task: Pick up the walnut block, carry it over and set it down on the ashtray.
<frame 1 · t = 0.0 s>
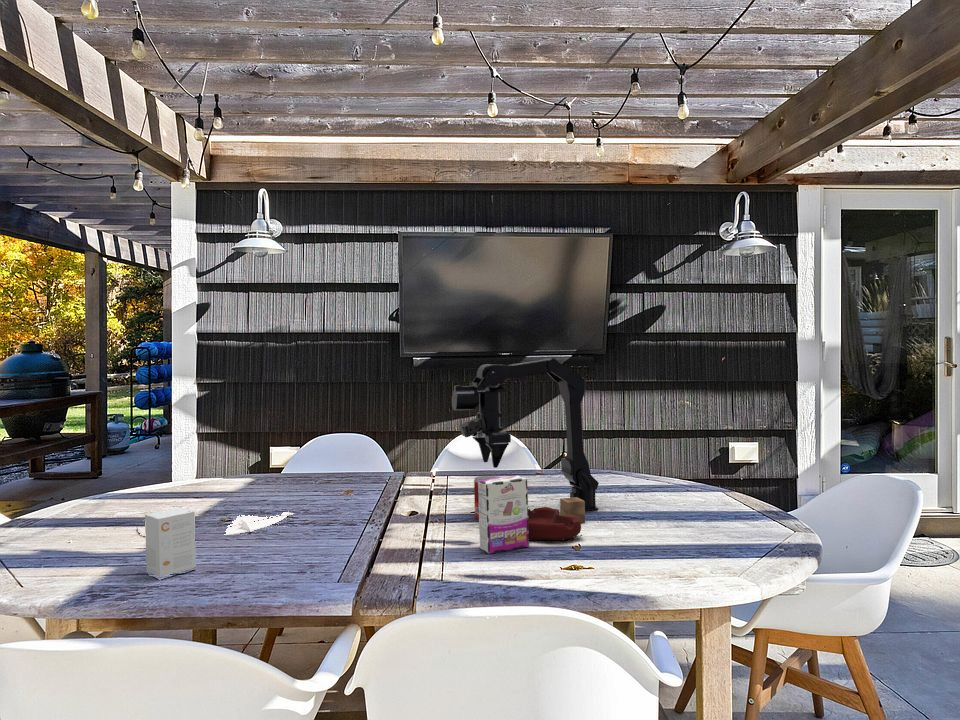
hand: (490, 464, 183), 15 cm above the table, fingers open, 9 cm apart
walnut block: (572, 521, 177), on the table
candy bar box: (504, 548, 154), on the table
small box: (171, 573, 140), on the table
canned food: (488, 518, 183), on the table
white flat piece: (216, 523, 183), on the table
ashtray: (540, 536, 165), on the table
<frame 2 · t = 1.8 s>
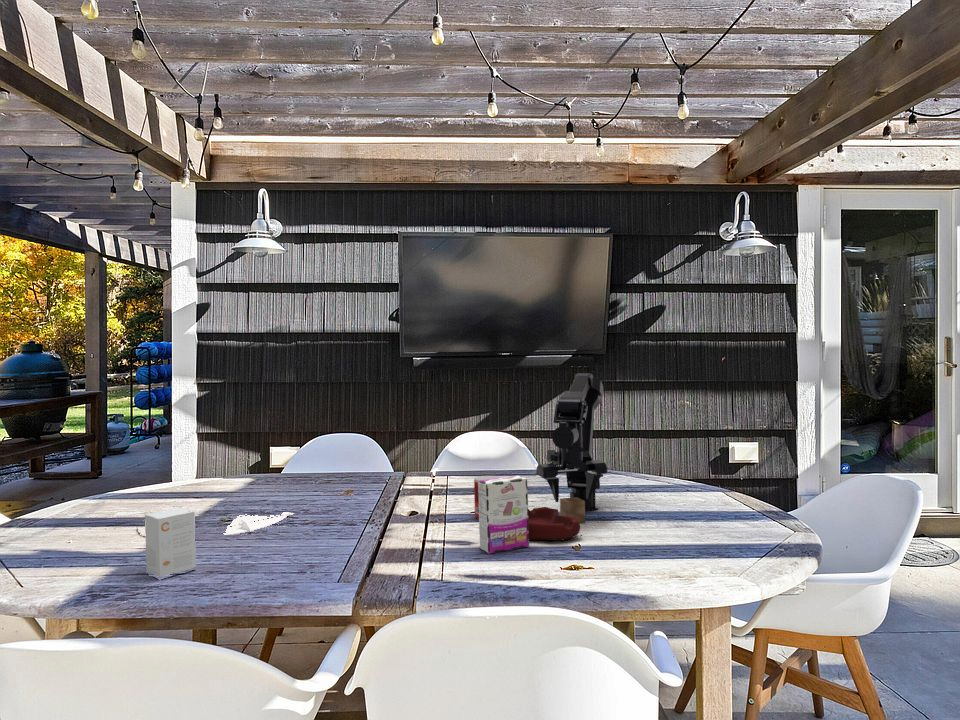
hand: (572, 500, 177), 6 cm above the table, fingers open, 9 cm apart
nothing on the table moved.
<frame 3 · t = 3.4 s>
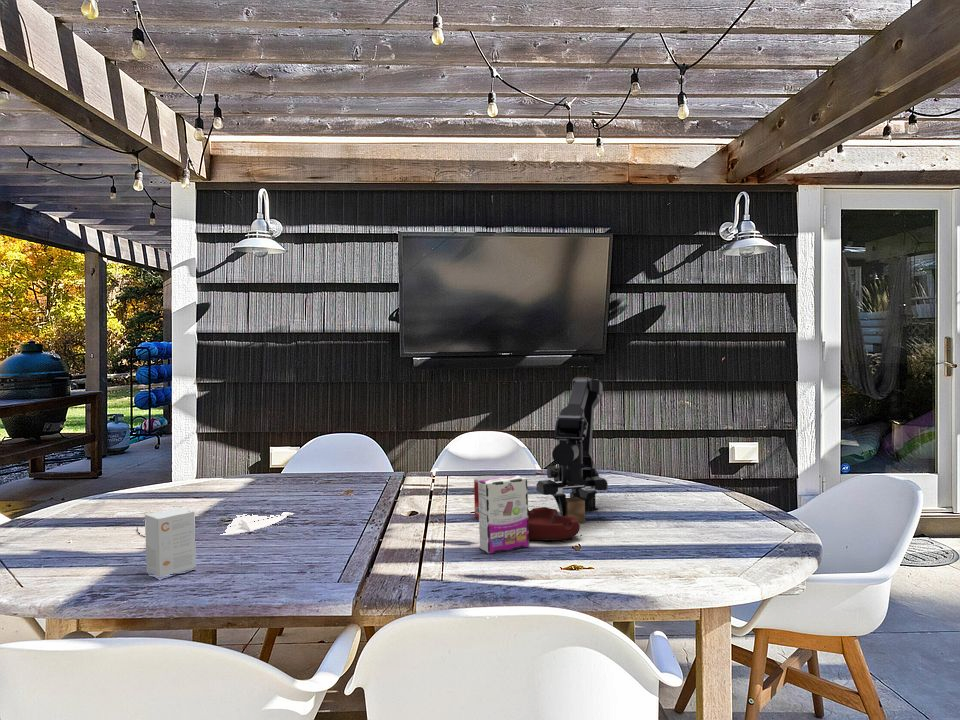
hand: (572, 517, 177), 1 cm above the table, fingers closed on walnut block, 5 cm apart
walnut block: (572, 521, 177), on the table, touching gripper
everything else where it was.
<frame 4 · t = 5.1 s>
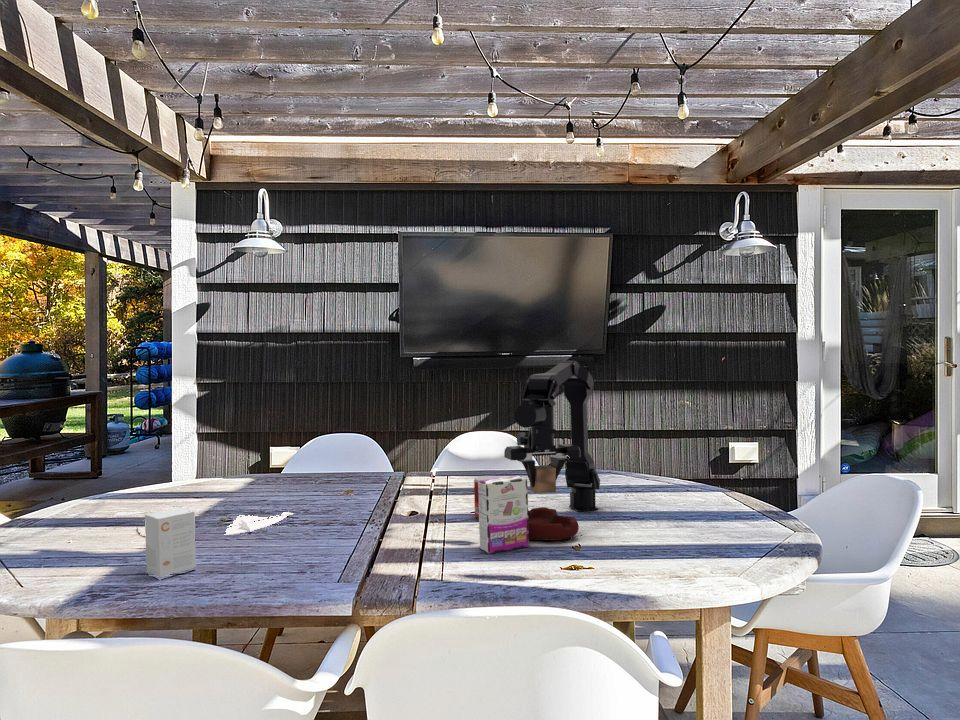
hand: (542, 486, 165), 12 cm above the table, fingers closed on walnut block, 5 cm apart
walnut block: (542, 490, 165), point 11 cm above the table, touching gripper
everything else where it was.
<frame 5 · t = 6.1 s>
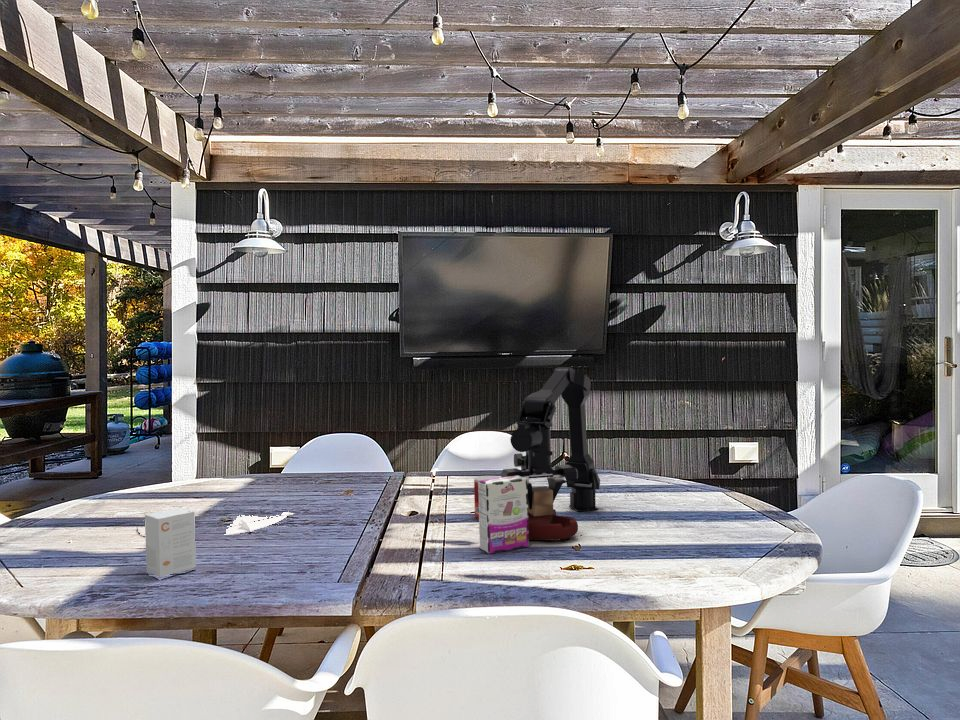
hand: (540, 508, 165), 7 cm above the table, fingers closed on walnut block, 5 cm apart
walnut block: (540, 512, 164), point 6 cm above the table, touching gripper
everything else where it was.
when the fingers open (6 cm above the table, at t = 6.9 s): walnut block stays where it is, resting on ashtray.
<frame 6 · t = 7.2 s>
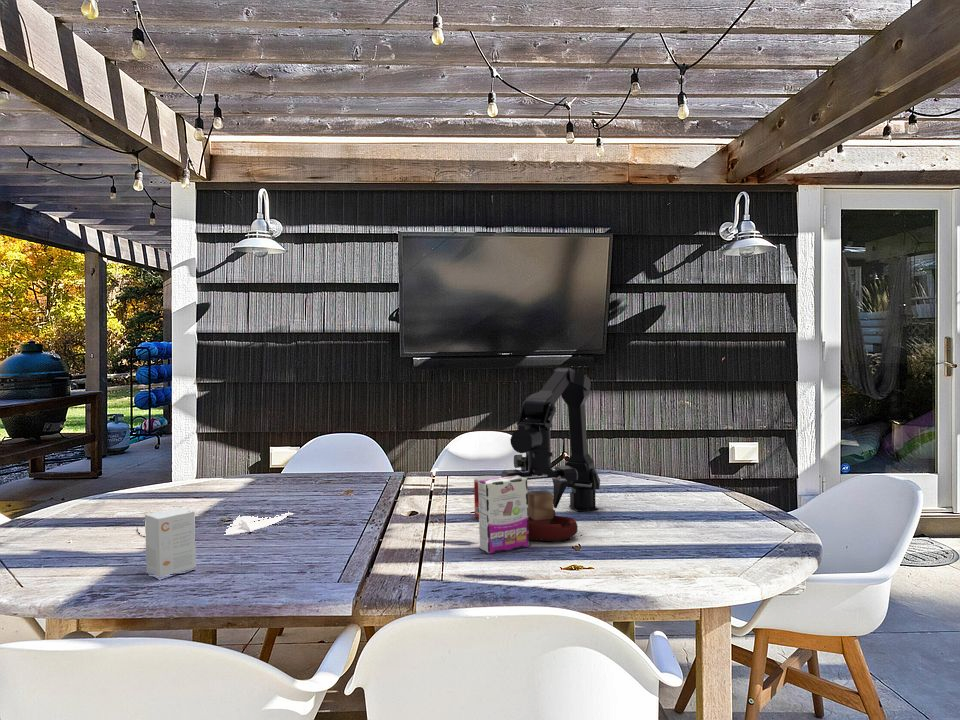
hand: (540, 509, 164), 6 cm above the table, fingers open, 8 cm apart
walnut block: (540, 516, 164), point 5 cm above the table, touching ashtray
ashtray: (536, 537, 164), on the table, touching walnut block
everything else where it was.
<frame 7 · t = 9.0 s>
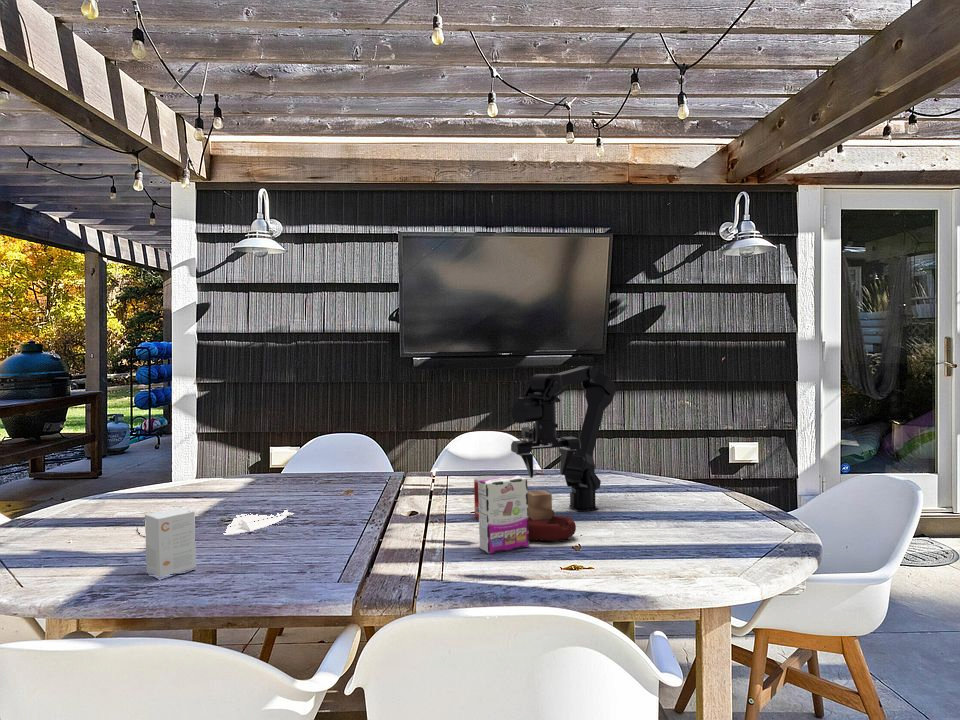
hand: (546, 476, 180), 12 cm above the table, fingers open, 9 cm apart
nothing on the table moved.
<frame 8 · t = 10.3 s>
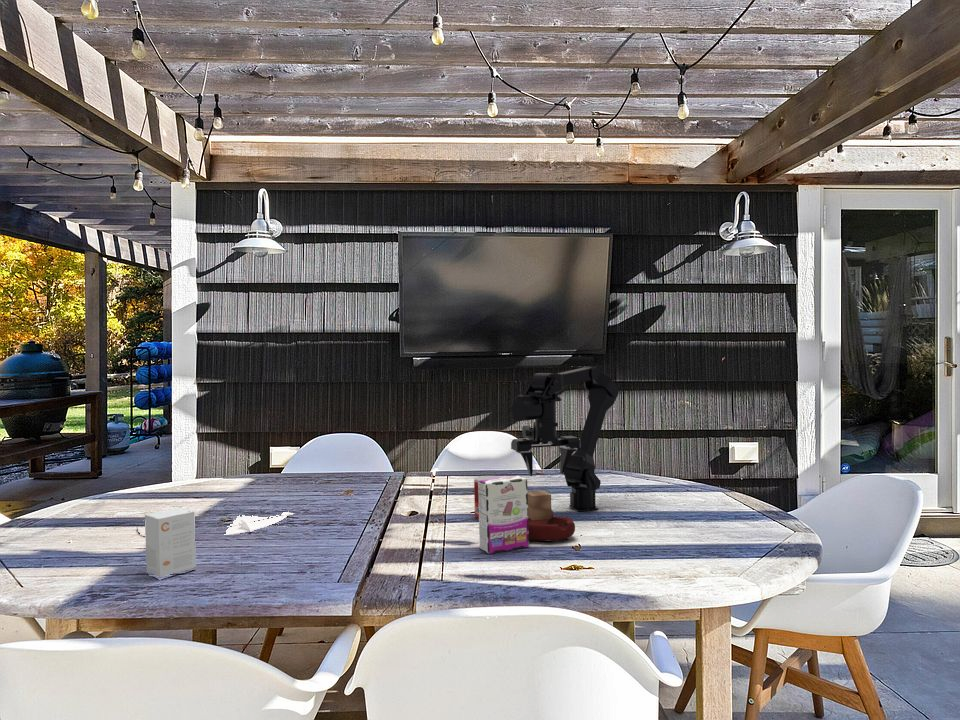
hand: (546, 474, 181), 12 cm above the table, fingers open, 9 cm apart
nothing on the table moved.
at the end: walnut block inside the target area in the ashtray (1.1 cm from its centre), point 5.2 cm above the ashtray's base; walnut block touching ashtray; the gripper is holding nothing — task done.
